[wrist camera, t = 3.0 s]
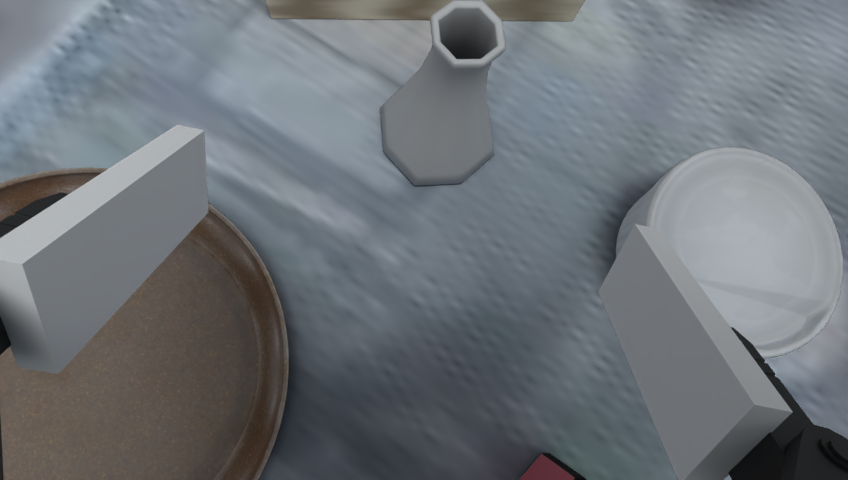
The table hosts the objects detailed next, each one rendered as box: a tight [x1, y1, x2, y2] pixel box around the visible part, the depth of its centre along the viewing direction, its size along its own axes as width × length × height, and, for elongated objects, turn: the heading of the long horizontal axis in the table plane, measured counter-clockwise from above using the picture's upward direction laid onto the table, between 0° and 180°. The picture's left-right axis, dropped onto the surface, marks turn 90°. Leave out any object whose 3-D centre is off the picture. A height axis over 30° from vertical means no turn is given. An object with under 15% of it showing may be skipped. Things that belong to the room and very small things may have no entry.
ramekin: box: [616, 147, 843, 358], centre depth 26 cm, size 11×11×5 cm
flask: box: [380, 0, 506, 186], centre depth 24 cm, size 7×7×10 cm
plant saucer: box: [0, 168, 289, 480], centre depth 23 cm, size 21×21×3 cm
